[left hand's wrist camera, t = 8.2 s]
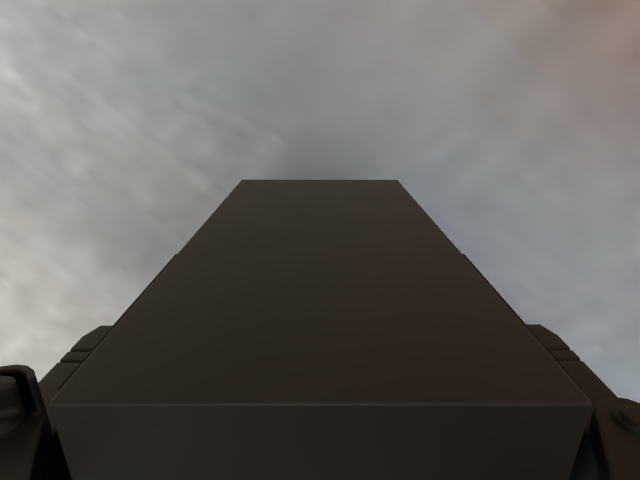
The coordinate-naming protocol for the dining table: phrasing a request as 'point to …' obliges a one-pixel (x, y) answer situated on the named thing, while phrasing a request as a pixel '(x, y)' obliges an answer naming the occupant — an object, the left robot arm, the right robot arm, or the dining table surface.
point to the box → (320, 355)
